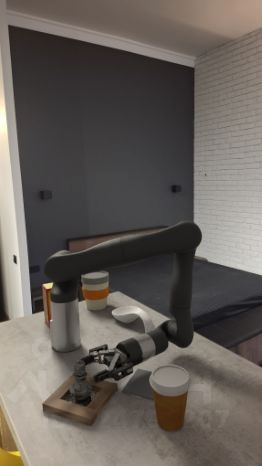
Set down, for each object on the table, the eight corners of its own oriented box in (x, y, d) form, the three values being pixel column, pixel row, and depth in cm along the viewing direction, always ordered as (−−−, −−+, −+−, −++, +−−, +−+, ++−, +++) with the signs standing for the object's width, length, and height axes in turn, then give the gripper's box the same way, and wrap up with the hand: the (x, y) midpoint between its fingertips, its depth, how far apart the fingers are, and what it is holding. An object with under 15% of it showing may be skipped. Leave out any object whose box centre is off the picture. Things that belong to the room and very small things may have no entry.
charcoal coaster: (121, 392, 86) (121, 390, 86) (137, 370, 96) (137, 368, 96) (160, 403, 82) (160, 401, 82) (173, 378, 92) (173, 376, 92)
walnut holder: (42, 410, 80) (42, 403, 80) (74, 378, 93) (74, 372, 93) (91, 426, 75) (90, 418, 74) (117, 390, 87) (117, 383, 87)
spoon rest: (107, 318, 133) (106, 301, 132) (131, 311, 139) (130, 295, 138) (138, 341, 114) (138, 322, 112) (165, 332, 120) (164, 314, 118)
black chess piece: (88, 409, 80) (86, 365, 78) (66, 406, 82) (63, 363, 80) (96, 393, 86) (93, 352, 84) (75, 391, 87) (72, 350, 85)
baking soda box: (48, 327, 126) (45, 288, 124) (44, 321, 132) (41, 283, 129) (72, 321, 131) (69, 283, 128) (67, 315, 136) (64, 279, 134)
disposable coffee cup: (147, 409, 80) (146, 364, 78) (185, 405, 81) (185, 361, 79) (153, 439, 71) (152, 390, 69) (196, 435, 71) (196, 386, 69)
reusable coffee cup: (99, 314, 137) (97, 280, 135) (76, 308, 144) (74, 276, 141) (116, 304, 148) (114, 272, 145) (94, 299, 154) (92, 269, 152)
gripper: (121, 329, 98) (73, 346, 89) (151, 348, 87) (99, 370, 77) (122, 352, 99) (74, 371, 90) (152, 373, 88) (101, 398, 79)
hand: (86, 371), depth 84 cm, fingers open, 8 cm apart
